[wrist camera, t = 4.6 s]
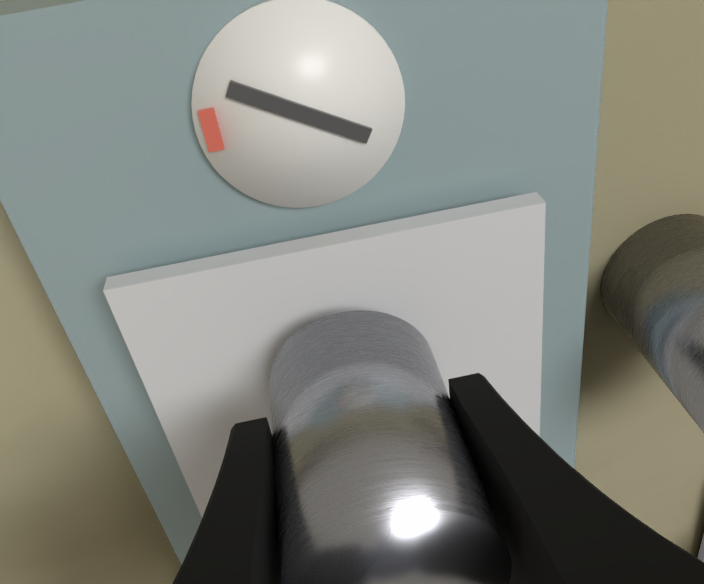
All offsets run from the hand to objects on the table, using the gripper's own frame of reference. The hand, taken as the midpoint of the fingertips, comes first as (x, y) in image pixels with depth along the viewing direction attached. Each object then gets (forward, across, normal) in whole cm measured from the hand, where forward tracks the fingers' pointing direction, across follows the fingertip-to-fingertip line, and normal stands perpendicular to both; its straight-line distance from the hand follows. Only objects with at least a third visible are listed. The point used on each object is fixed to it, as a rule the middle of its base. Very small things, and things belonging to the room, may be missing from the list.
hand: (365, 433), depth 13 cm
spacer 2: (+5, -9, +2) cm, 10 cm away
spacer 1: (+2, 0, 0) cm, 2 cm away
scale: (+5, 0, +2) cm, 5 cm away
